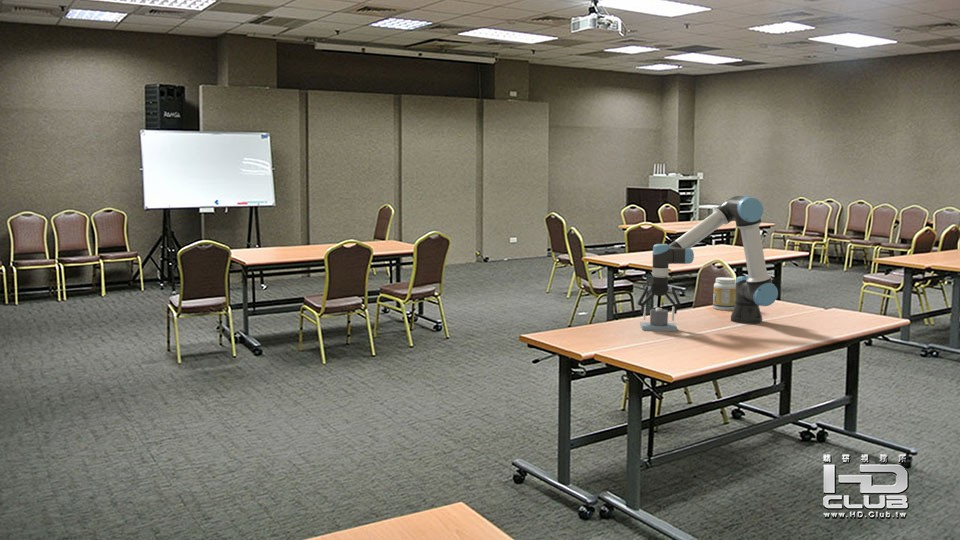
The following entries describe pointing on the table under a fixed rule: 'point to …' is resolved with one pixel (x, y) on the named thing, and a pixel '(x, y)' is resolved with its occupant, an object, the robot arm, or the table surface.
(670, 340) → the table surface
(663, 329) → the shaft block
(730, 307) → the supplement tub
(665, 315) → the cylinder
